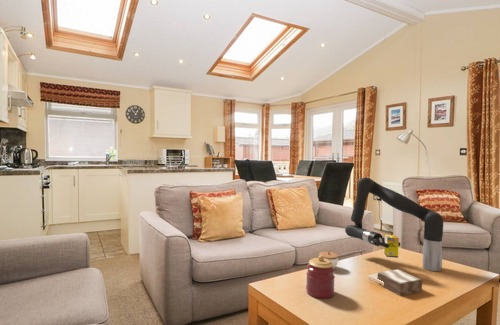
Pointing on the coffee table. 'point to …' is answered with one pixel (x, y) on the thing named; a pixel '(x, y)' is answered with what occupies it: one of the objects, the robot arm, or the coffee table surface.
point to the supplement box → (391, 246)
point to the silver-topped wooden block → (400, 282)
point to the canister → (320, 278)
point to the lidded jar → (330, 257)
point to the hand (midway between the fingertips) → (394, 245)
